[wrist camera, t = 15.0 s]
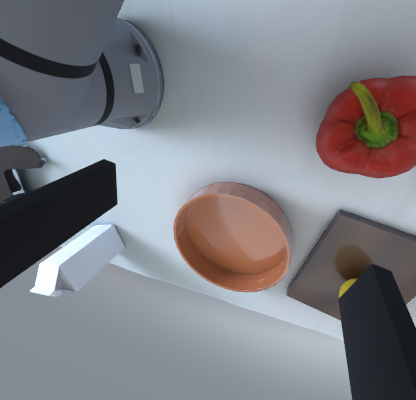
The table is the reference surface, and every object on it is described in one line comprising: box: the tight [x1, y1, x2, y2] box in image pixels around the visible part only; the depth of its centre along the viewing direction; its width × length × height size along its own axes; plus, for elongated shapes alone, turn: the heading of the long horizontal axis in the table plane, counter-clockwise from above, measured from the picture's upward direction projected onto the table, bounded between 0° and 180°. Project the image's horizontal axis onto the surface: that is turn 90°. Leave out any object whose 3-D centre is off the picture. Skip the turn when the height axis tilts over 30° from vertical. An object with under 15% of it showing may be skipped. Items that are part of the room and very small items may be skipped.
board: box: [287, 210, 416, 320], centre depth 36 cm, size 15×20×2 cm
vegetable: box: [316, 76, 416, 178], centre depth 23 cm, size 11×10×10 cm
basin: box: [173, 182, 292, 292], centre depth 40 cm, size 21×21×4 cm
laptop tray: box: [0, 145, 46, 202], centre depth 58 cm, size 23×23×9 cm
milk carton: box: [30, 224, 125, 297], centre depth 50 cm, size 7×7×19 cm
